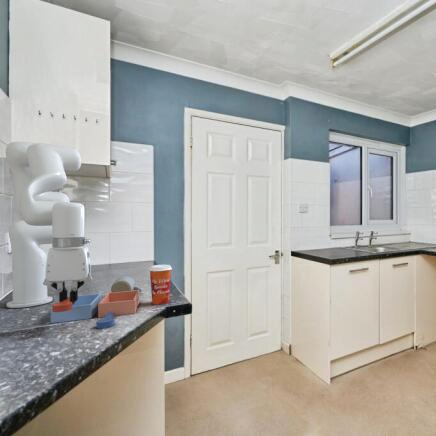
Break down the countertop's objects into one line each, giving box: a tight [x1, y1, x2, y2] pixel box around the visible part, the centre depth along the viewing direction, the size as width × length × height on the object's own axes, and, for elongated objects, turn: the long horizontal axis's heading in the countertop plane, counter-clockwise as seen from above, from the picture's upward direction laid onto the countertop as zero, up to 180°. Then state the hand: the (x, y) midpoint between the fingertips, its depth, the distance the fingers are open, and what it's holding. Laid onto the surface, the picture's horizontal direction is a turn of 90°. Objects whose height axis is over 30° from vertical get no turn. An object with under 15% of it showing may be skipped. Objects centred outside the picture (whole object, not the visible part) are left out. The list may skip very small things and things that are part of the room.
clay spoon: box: [51, 295, 72, 312], centre depth 92 cm, size 11×4×2 cm, turn 26°
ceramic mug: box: [110, 275, 143, 296], centre depth 129 cm, size 11×8×8 cm
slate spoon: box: [95, 312, 115, 330], centre depth 97 cm, size 11×4×2 cm, turn 26°
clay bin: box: [97, 290, 141, 319], centre depth 111 cm, size 16×10×4 cm, turn 26°
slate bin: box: [50, 292, 103, 324], centre depth 105 cm, size 16×10×4 cm, turn 26°
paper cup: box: [148, 264, 173, 306], centre depth 119 cm, size 8×8×14 cm
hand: (68, 303), depth 95 cm, fingers closed on clay spoon, 1 cm apart
